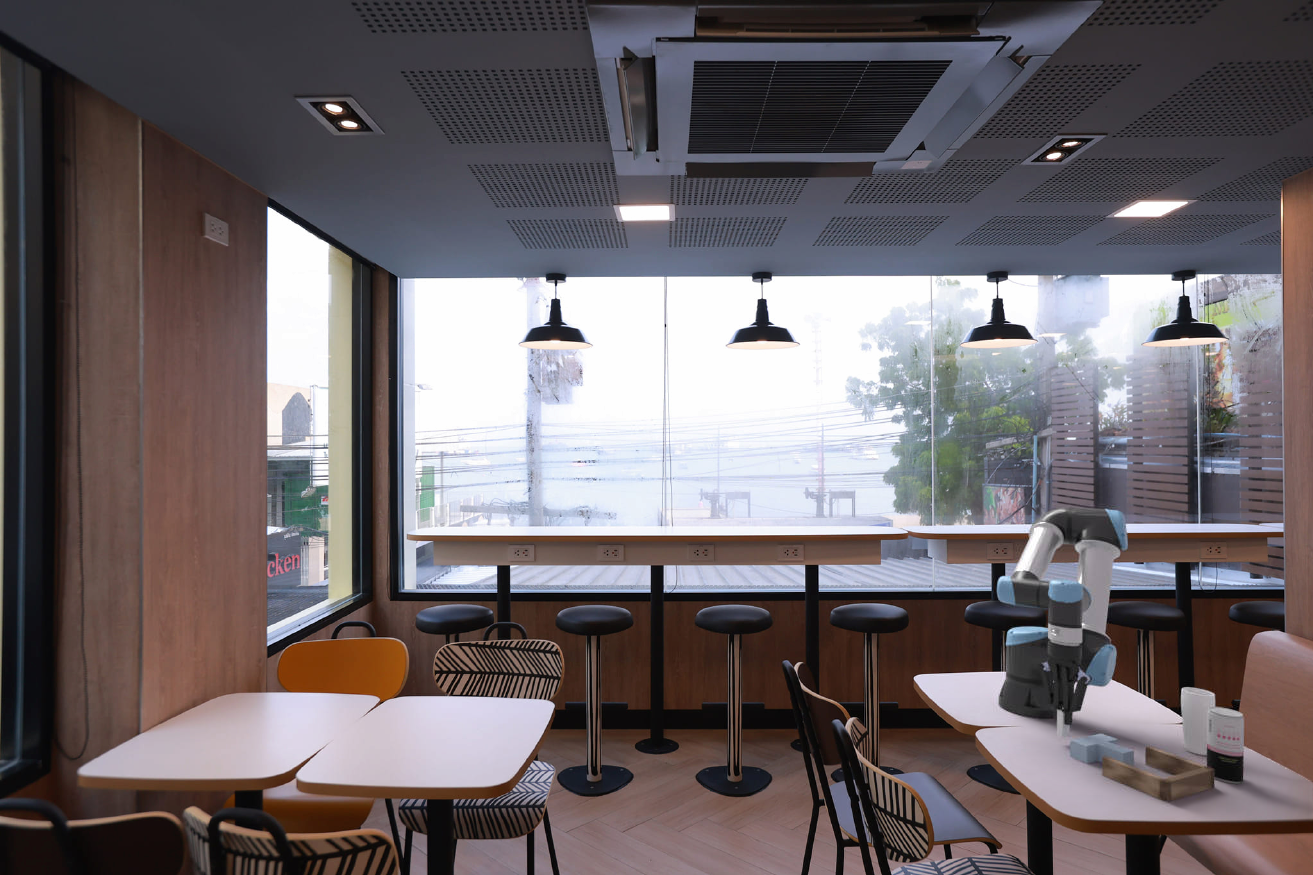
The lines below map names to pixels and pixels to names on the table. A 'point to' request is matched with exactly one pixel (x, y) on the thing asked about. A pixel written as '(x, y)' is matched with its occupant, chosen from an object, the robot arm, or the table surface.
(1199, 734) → the white paper cup
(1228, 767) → the beverage can
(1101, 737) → the tee block
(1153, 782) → the walnut corral
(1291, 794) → the table surface
